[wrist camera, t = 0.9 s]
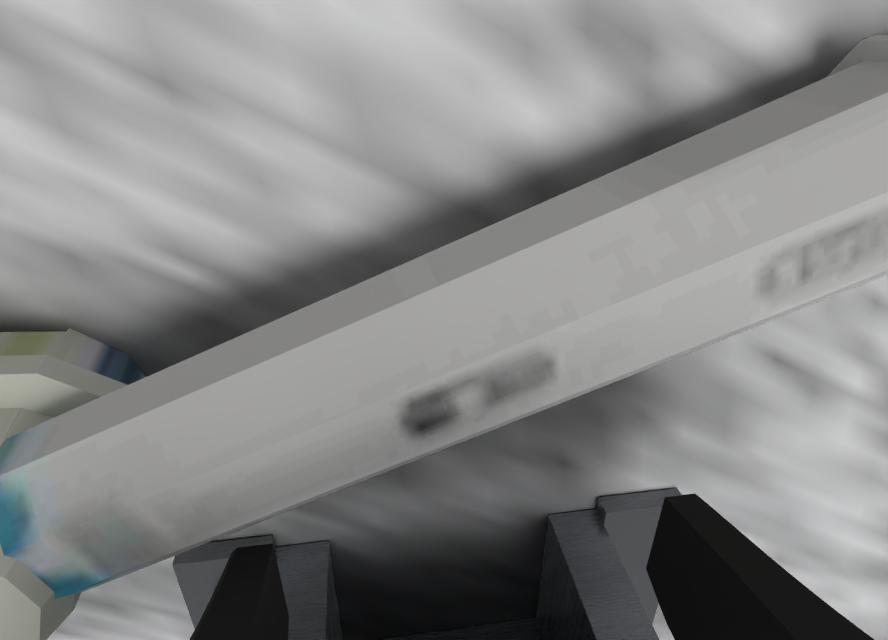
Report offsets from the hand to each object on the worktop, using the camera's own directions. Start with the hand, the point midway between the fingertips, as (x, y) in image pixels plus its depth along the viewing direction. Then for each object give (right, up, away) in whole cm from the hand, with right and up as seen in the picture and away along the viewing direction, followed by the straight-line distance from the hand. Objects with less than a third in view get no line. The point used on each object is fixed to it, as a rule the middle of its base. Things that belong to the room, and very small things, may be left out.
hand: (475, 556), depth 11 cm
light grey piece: (-1, +6, +3) cm, 6 cm away
